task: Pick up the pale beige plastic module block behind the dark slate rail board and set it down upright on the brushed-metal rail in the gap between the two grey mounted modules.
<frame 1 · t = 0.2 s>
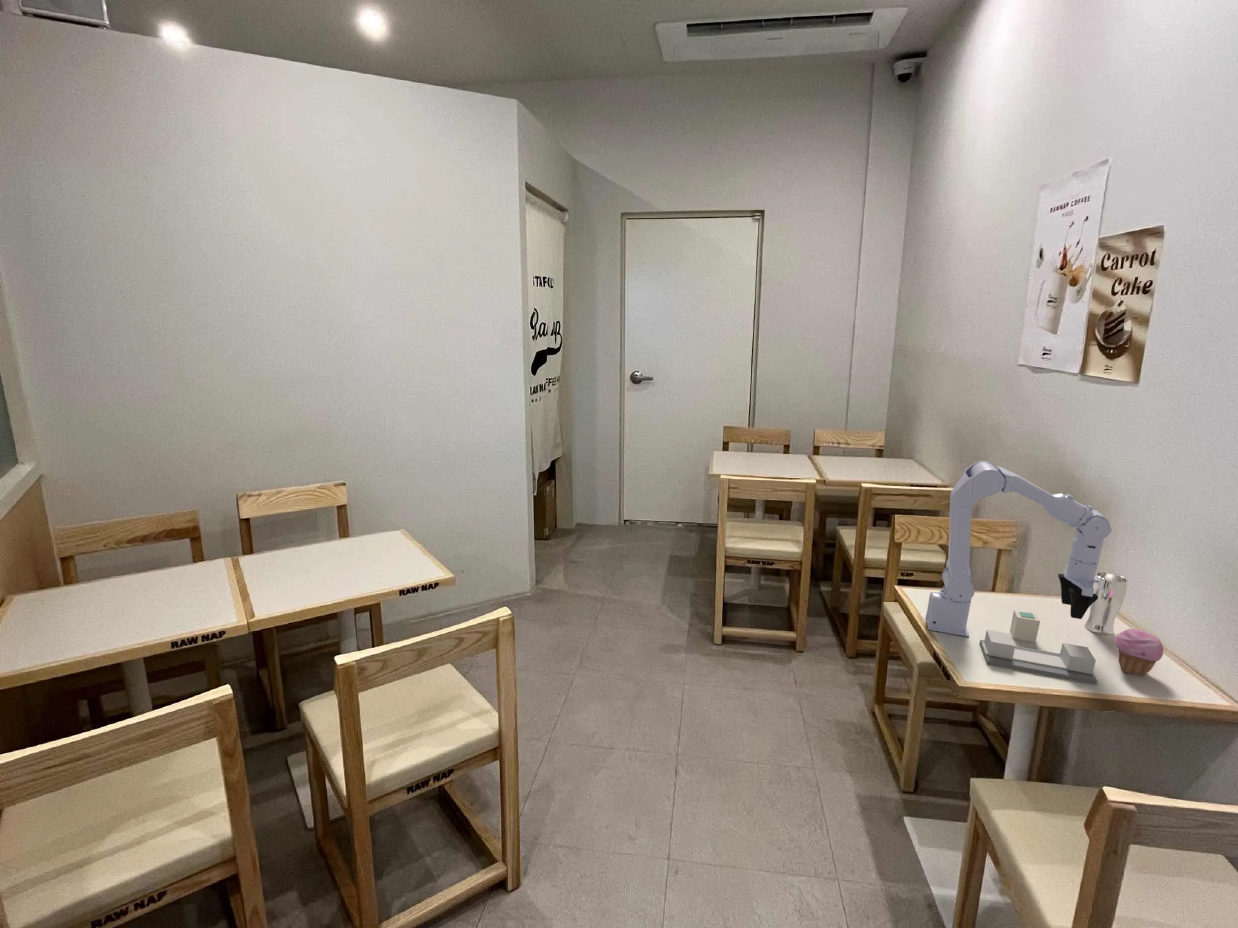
hand: (1071, 610, 159), 10 cm above the table, tool pointing down, fingers open, 7 cm apart
cupcake: (1132, 671, 151), on the table
rail board: (1035, 662, 153), on the table
module block: (1022, 636, 165), on the table
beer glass: (1098, 630, 170), on the table
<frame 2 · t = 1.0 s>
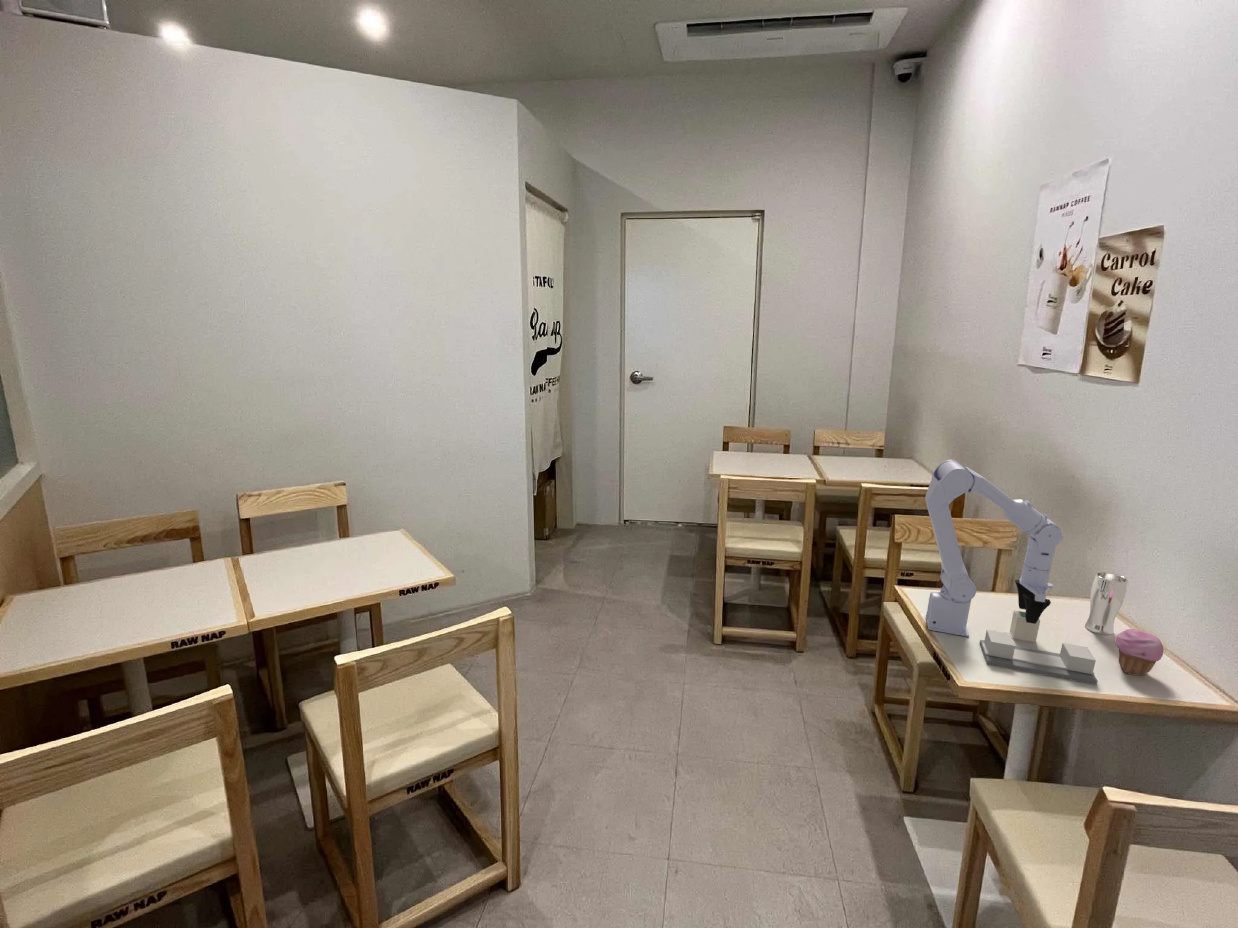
hand: (1027, 615, 164), 6 cm above the table, tool pointing down, fingers open, 7 cm apart
nothing on the table moved.
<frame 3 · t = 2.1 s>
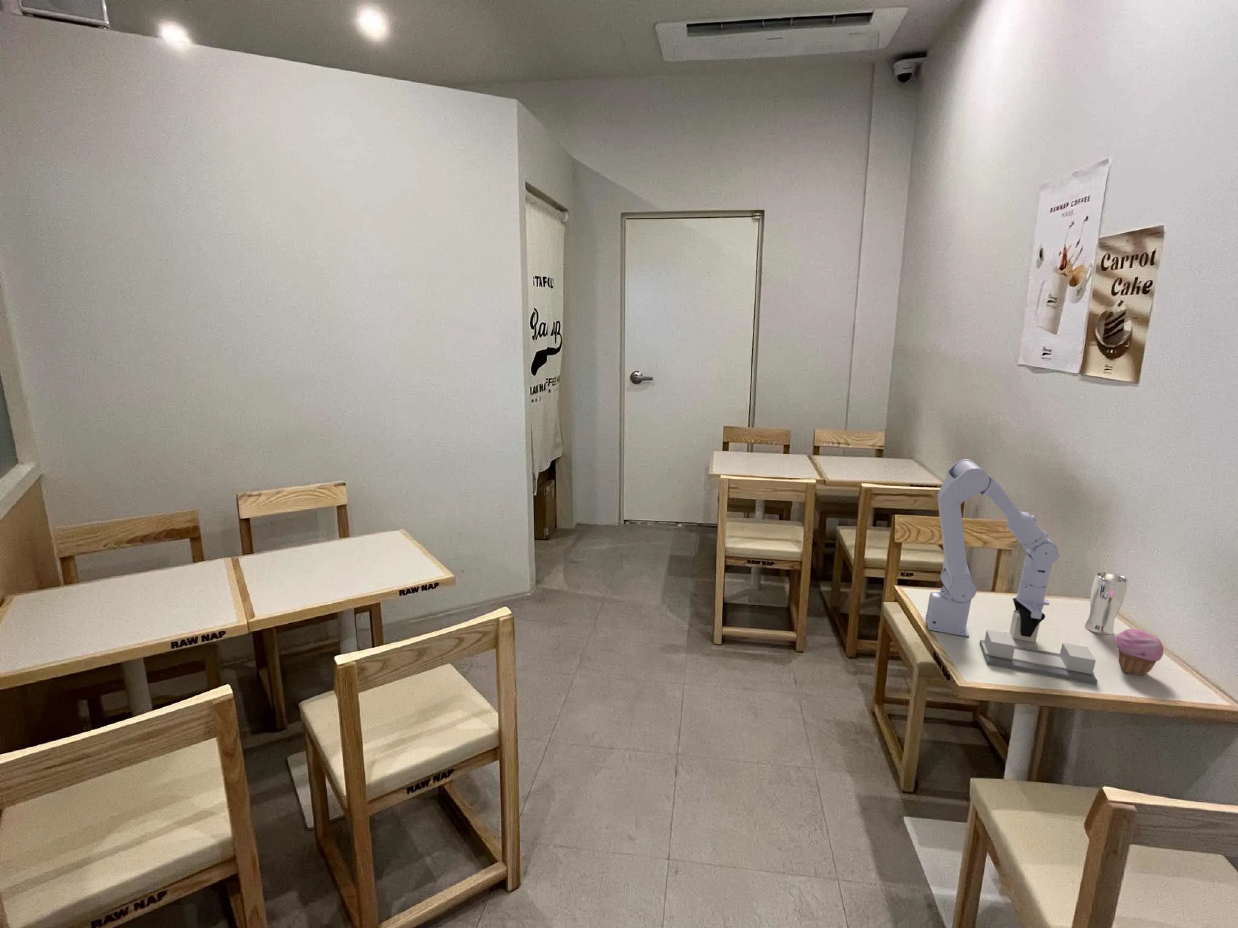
hand: (1023, 631, 165), 1 cm above the table, tool pointing down, fingers closed on module block, 4 cm apart
module block: (1022, 636, 165), on the table, touching gripper
everything else where it was.
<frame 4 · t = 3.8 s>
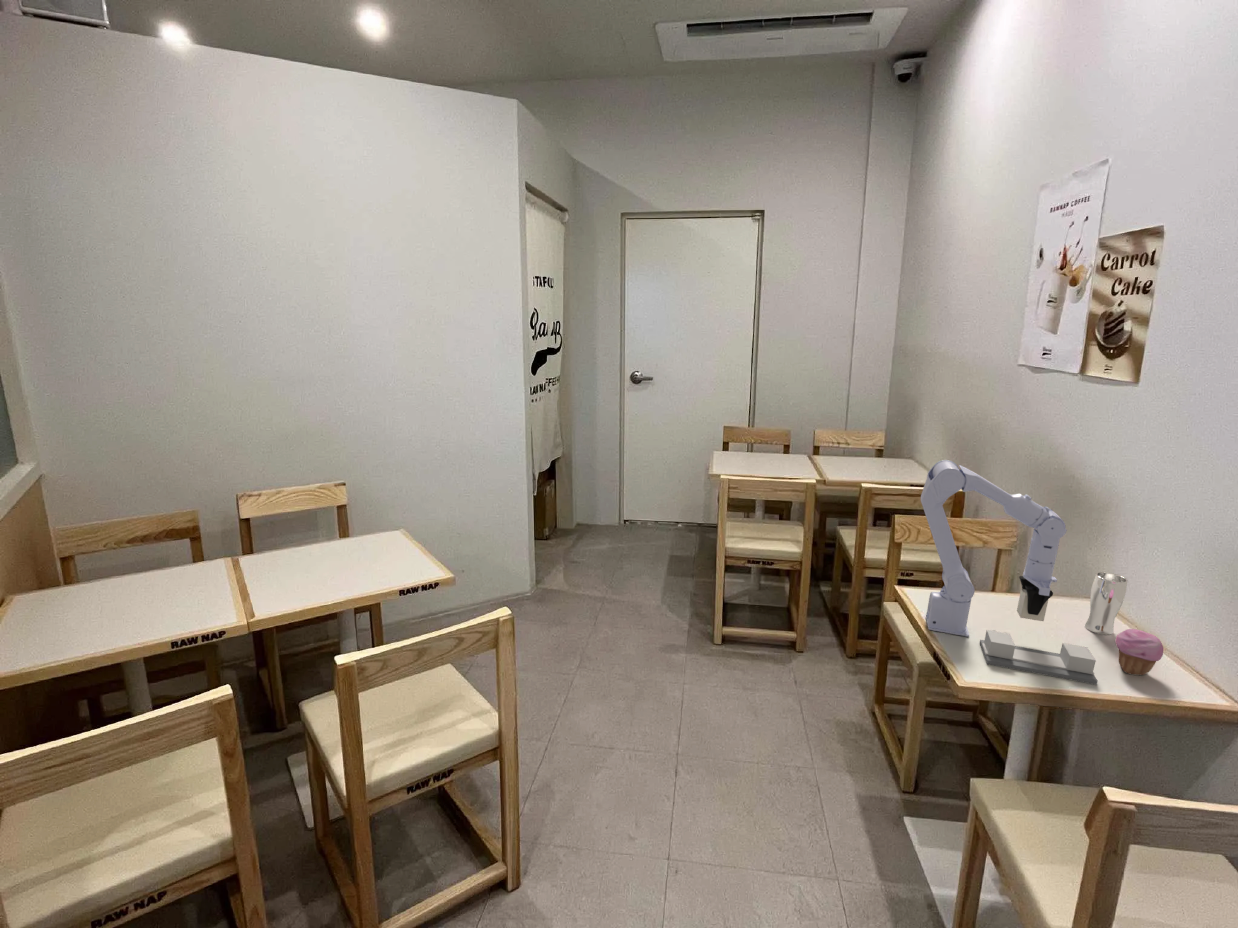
hand: (1030, 609, 161), 8 cm above the table, tool pointing down, fingers closed on module block, 4 cm apart
module block: (1029, 615, 162), point 7 cm above the table, touching gripper
everything else where it was.
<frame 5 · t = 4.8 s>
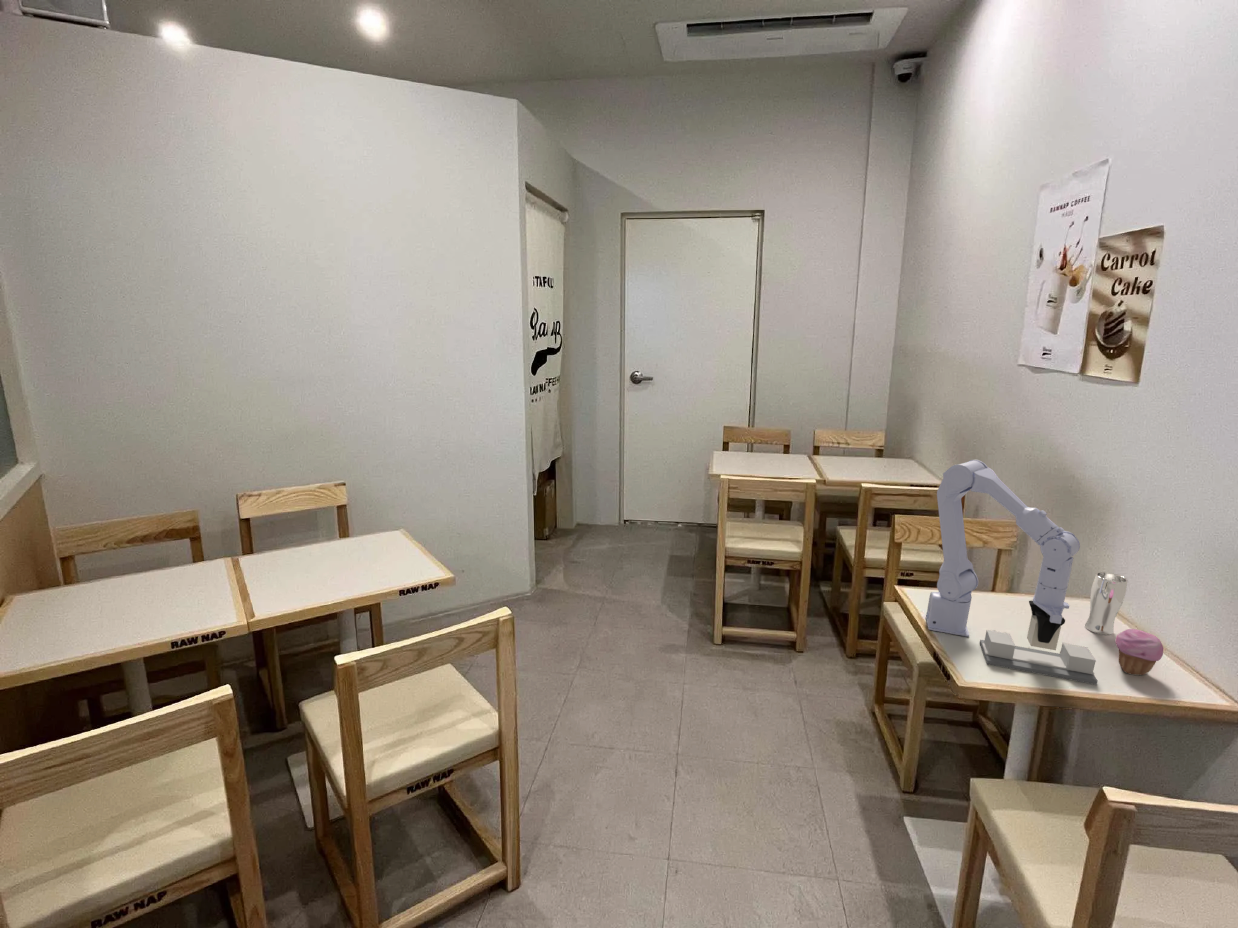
hand: (1040, 637, 152), 7 cm above the table, tool pointing down, fingers closed on module block, 4 cm apart
module block: (1041, 643, 152), point 5 cm above the table, touching gripper
everything else where it was.
when the fingers open (4 cm above the table, at t = 5.6 s): module block drops 1 cm, resting on rail board.
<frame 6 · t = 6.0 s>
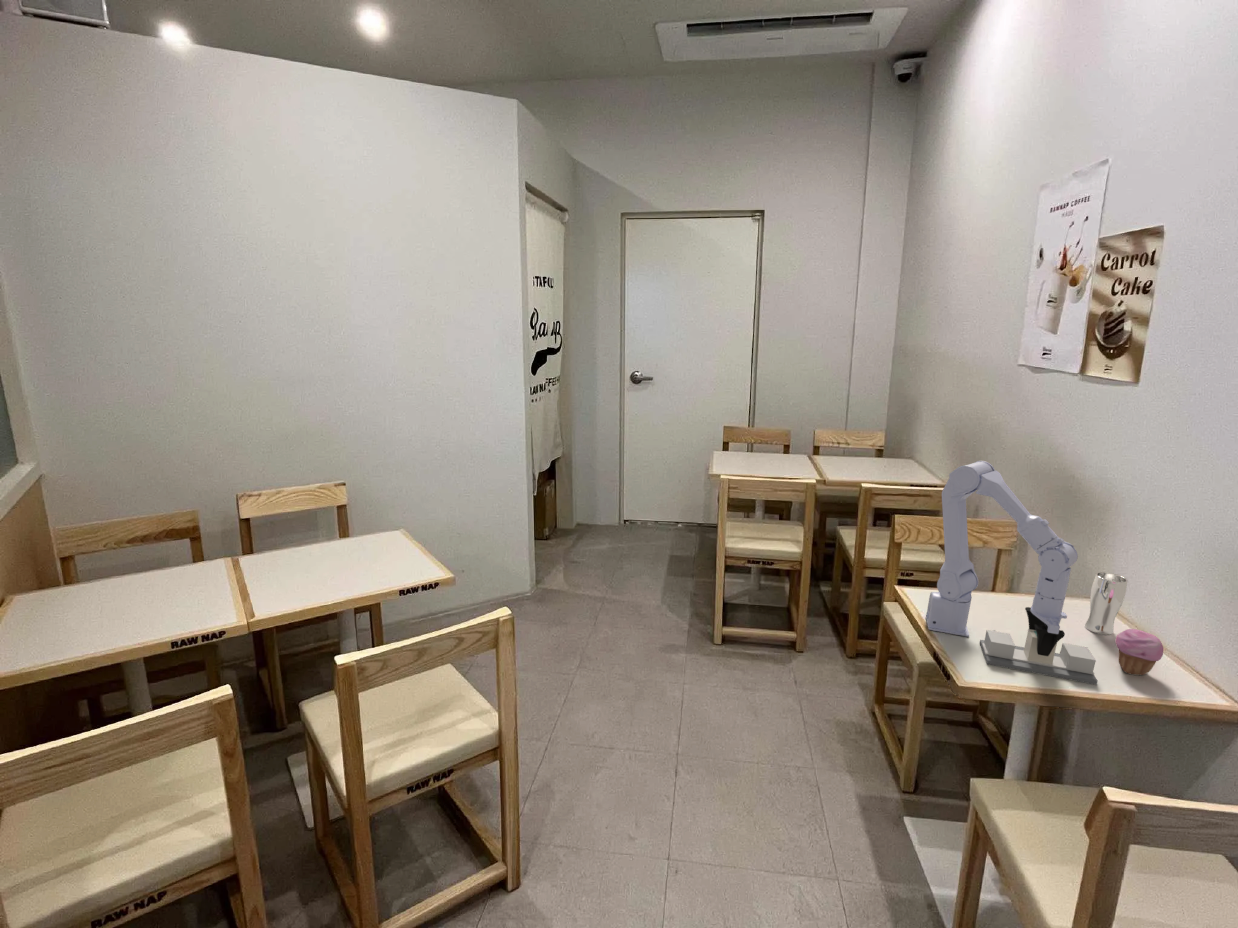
hand: (1038, 646, 152), 4 cm above the table, tool pointing down, fingers open, 7 cm apart
module block: (1037, 657, 153), point 1 cm above the table, touching rail board
everything else where it was.
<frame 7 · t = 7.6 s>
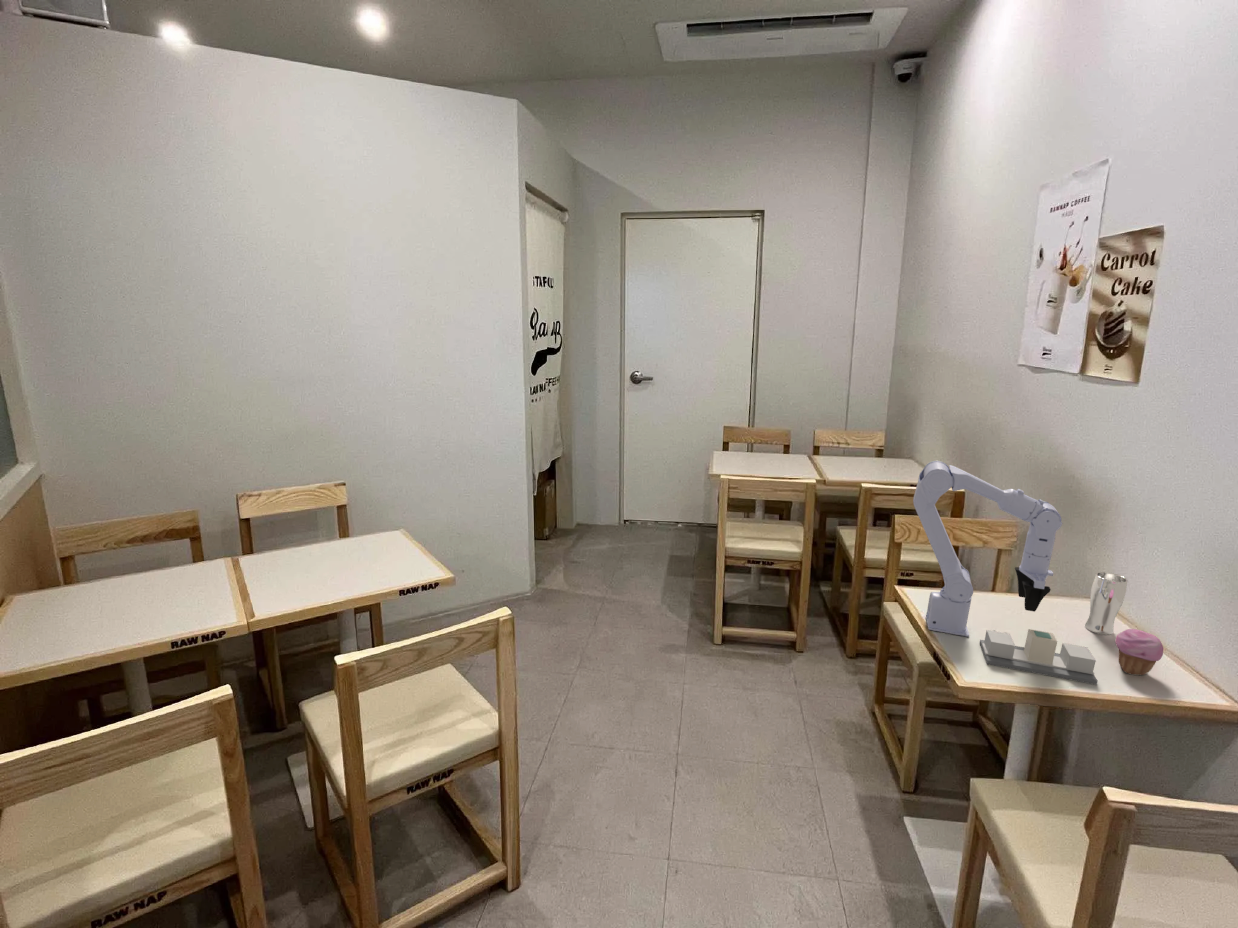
hand: (1026, 603, 160), 10 cm above the table, tool pointing down, fingers open, 7 cm apart
nothing on the table moved.
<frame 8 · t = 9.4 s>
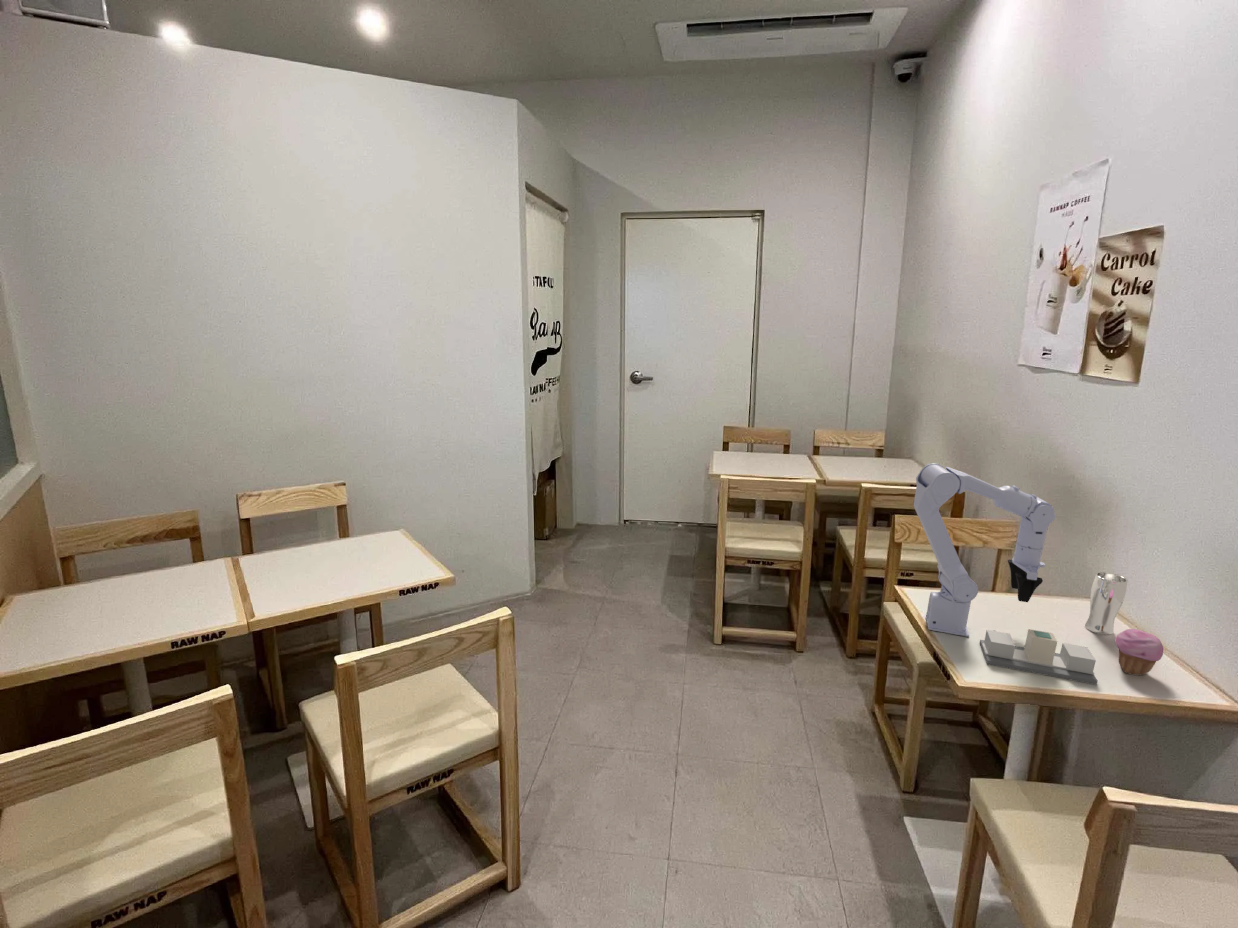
hand: (1019, 594, 165), 10 cm above the table, tool pointing down, fingers open, 7 cm apart
nothing on the table moved.
at the end: module block 0.3 cm off-centre on the rail board, point 1.4 cm above the rail board's base; module block tilted 0°; the gripper is holding nothing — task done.
